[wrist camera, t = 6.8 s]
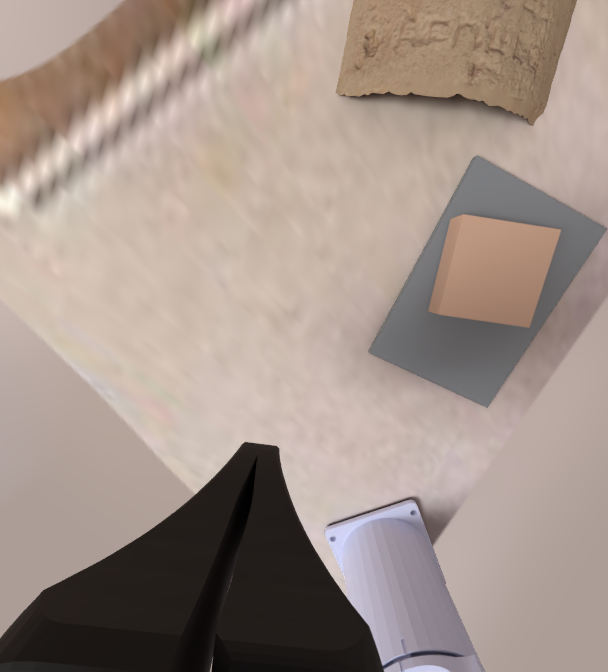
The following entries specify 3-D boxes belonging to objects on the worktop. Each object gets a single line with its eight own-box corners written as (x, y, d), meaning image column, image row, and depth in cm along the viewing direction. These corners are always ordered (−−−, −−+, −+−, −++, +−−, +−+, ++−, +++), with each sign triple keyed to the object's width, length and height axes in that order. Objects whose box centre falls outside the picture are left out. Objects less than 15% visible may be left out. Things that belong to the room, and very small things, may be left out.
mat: (484, 405, 21) (487, 407, 21) (368, 351, 20) (369, 353, 20) (600, 229, 19) (607, 228, 18) (473, 157, 18) (476, 155, 17)
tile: (427, 310, 19) (510, 323, 20) (438, 314, 18) (529, 327, 18) (449, 219, 18) (538, 233, 18) (463, 214, 16) (561, 229, 17)
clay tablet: (601, -65, 16) (661, -133, 13) (546, 137, 18) (587, 114, 15) (347, -104, 15) (355, -181, 13) (322, 107, 18) (325, 78, 15)
